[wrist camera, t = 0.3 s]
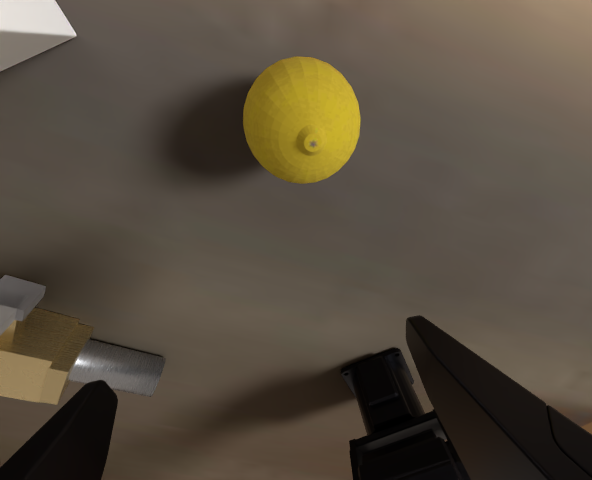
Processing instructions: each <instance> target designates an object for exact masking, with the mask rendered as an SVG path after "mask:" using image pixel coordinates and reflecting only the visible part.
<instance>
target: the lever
mask: <svg viewBox="0 0 592 480" xmlns="http://www.w3.org/2000/svg"><path fill="white" fill-rule="evenodd" d="M45 289H46V286H43V285H40V284H36V283H33V282H29V281H26V280H22V279H19V278H15V277H12V276H9V275H4V276H3V277H2V278H1V279H0V336H1V335H2V334H3V332H4V331H5V330H6V329H7V328H8V327H9V326H10V325H11V323H12V322H13V321H14V320H18V321H23V320H24V319H25V318H26V316H27V315H28V314H29V313H30V312H31V311H32V309H33V308H34V307H35V306H36V305H37V304H38V302H39V301H40V300H41V299H42V298H43V297H44V293H45Z"/></svg>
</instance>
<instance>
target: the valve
mask: <svg viewBox="0 0 592 480" xmlns="http://www.w3.org/2000/svg"><path fill="white" fill-rule="evenodd" d="M78 322H79V319H77V318H73V317H69V316H65V315H61V314H58V313H54V312H50V311H46V310H43V309H39V308H35V307H34V308H33V309H32V311H31V312H30V313H29V314H28V315H27V316H26V318H25V319H24V320H23V321H18V320H14V321H13V322H12V323H11V325H10V326H9V327H8V328H7V329H6V330H5V331H4V332H3V334H2V335H1V336H0V396H4V397H10V398H16V399H21V400H27V401H33V402H39V403H40V402H45V403H50V404H56V405H57V404H58V402H59V400H60V398H61V397H62V395H63V393H64V391H65V389H66V388H67V386H68V384H69V382H70V381H74V382H79V383H84V384H87V383H89V382H92V381H97V380H104V381H105V382H106V383H107V384H108V385H109V386H110V388H111V389H114V390H118V391H123V392H128V393H133V394H138V395H143V396H148V397H151V396H152V395H153V393H154V391H155V389H156V386H157V384H158V381H159V379H160V376H161V373H162V370H163V367H164V364H165V358H163V357H159V356H155V355H151V354H147V353H143V352H139V351H135V350H131V349H127V348H123V347H118V346H114V345H110V344H106V343H102V342H98V341H94V340H90V338H91V335H92V332H93V329H94V327H90V326H87V325H83V324H79V323H78Z"/></svg>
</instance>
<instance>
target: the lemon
mask: <svg viewBox="0 0 592 480" xmlns="http://www.w3.org/2000/svg"><path fill="white" fill-rule="evenodd" d="M243 127H244V131H245V136H246V141H247V143H248V145H249V147H250V149H251V151H252V153H253V155H254V157H255V158H256V159H257V160H258V161H259V163H260V164H261V165H262V166H263V167H264V168H265V169H266V170H268V171H269V172H270V173H272V174H273V175H274V176H276V177H278V178H281V179H283V180H286V181H288V182H293V183H301V184H304V183H313V182H317V181H320V180H323V179H326V178H328V177H329V176H331V175H332V174H334V173H335V172H337V171H338V170H339V169H340V168H341V167H342V166H343V165H344V164H345V163H346V162H347V161H348V159H349V158H350V156H351V154H352V153H353V151H354V149H355V146H356V143H357V140H358V137H359V131H360V113H359V105H358V102H357V99H356V97H355V94H354V92H353V90H352V87H351V86H350V84H349V83H348V82H347V81H346V79H345V78H344V77H343V75H342V74H341V73H340V72H339V71H337V70H336V69H335V68H333V67H332V66H331V65H329V64H328V63H326V62H323V61H320V60H318V59H315V58H312V57H292V58H287V59H283V60H280V61H278V62H276V63H275V64H273V65H271V66H269V67H268V68H266V69H265V70H264V71H263V72H262V73H261V74H260V75H259V76H258V77H257V78H256V80H255V82H254V83H253V85H252V87H251V89H250V90H249V92H248V94H247V98H246V102H245V105H244V111H243Z"/></svg>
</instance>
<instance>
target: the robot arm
mask: <svg viewBox="0 0 592 480" xmlns="http://www.w3.org/2000/svg"><path fill="white" fill-rule="evenodd" d="M406 341H407V345H408V347H409V350H410V352H411V355H412V357H413V360H414V362H415V365H416V368H417V370H418V373H419V375H420V378H421V380H422V383H423V385H424V388H425V390H426V393H427V395H428V397H429V399H430V401H431V403H432V405H433V407H434V409H433V411H431V412H429V413H426V414H425V412H424V410H423V408H422V406H421V404H420V401H419V399H418V397H417V395H416V393H415V391H414V389H413V386H412V384H413V383H414V380H413V378H412V376H411V373H410V371H409V369H408V366H407V364H406V362H405V359H404V357H403V355H402V352H401V350H400V349H398V348H396V349H393V350H390V351H387V352H385V353H382V354H380V355H377V356H374V357H372V358H369V359H366V360H364V361H361V362H359V363H356V364H353V365H351V366H348V367H346V368H343V369H342V370H341V374H342V377H343V378H344V380H345V381H346V383H347V385H348V386H349V388H350V389H351V391H352V392H353V394H354V395H355V397H356V398H357V401H358V405H359V408H360V412H361V415H362V419H363V422H364V426H365V429H366V432H367V436H364V437H362V438H359V439H356V440H355V439H353V440H350V441H349V443H350V459H351V466H352V474H353V480H592V434H590V433H589V432H587V431H586V430H584V429H583V428H581V427H580V426H578V425H577V424H575V423H574V422H572V421H571V420H570V419H568V418H567V417H565V416H564V415H562V414H561V413H559V412H558V411H557V410H555V409H554V408H552V407H551V406H549V405H547V406H546V403H545V402H544V401H542V400H541V399H539V398H538V397H536V396H535V395H534V394H532V393H531V392H529V391H528V390H527V389H525V388H524V387H522V386H521V385H519V384H518V383H517V382H515V381H514V380H512V379H511V378H509V377H508V376H507V375H505V374H504V373H502V372H501V371H499V370H498V369H497V368H495V367H494V366H492V365H491V364H489V363H488V362H487V361H485V360H484V359H482V358H481V357H480V356H478V355H477V354H475V353H474V352H472V351H471V350H470V349H468V348H467V347H465V346H464V345H462V344H461V343H460V342H458V341H457V340H455V339H454V338H452V337H451V336H450V335H448V334H447V333H445V332H444V331H443V330H441V329H440V328H438V327H437V326H435V325H434V324H433V323H431V322H430V321H428V320H427V319H425V318H424V317H422V316H414V317H409V318H407V320H406ZM117 403H118V399H117V396H116V394H115V393H114V391H113V390H112V389H111V388H110V386H109V385H108V384H107V383H106V382H105V381H104V380H97V381H92V382H89V383H87V384H85V385H84V386H83V387H82V388H81V389H80V390H79V391H78V392H77V393H76V394H75V395H74V396H73V397H72V398H71V399H70V400H69V401H68V402H67V403H66V404H65V405H64V406H63V407H62V408H61V409H60V410H59V411H58V412H57V413H56V414H55V415H54V416H53V417H52V418H51V419H49V420H48V421H47V422H46V423H45V424H44V425H43V426H42V427H41V428H40V429H39V430H38V431H37V432H36V433H35V434H34V435H33V436H32V437H31V438H30V439H29V440H28V441H27V442H26V443H25V444H24V445H23V446H22V447H21V448H20V449H19V450H18V451H17V452H16V453H15V454H14V455H13V456H12V457H11V458H10V459H9V460H8V461H7V462H6V463H4V464H3V465H2V466H1V467H0V480H101V477H102V474H103V471H104V467H105V463H106V459H107V455H108V450H109V445H110V440H111V435H112V430H113V425H114V419H115V414H116V409H117ZM445 439H447V441H446V442H445V441H444V440H445Z"/></svg>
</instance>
